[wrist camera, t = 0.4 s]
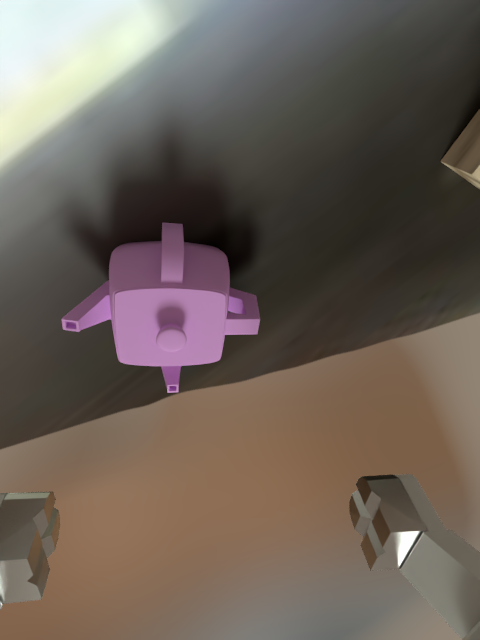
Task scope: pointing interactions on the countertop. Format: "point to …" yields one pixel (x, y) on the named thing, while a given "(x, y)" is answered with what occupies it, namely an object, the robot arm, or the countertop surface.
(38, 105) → the countertop surface
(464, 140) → the socket
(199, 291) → the teakettle
